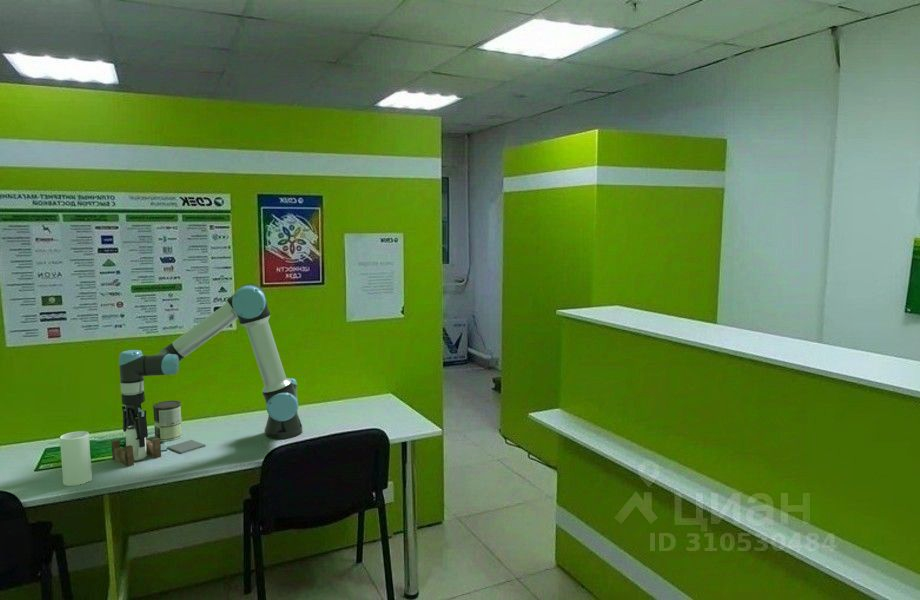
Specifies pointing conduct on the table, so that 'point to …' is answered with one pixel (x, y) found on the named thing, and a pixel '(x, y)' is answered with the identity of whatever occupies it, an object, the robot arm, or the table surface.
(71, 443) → the cup
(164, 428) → the coffee can
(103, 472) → the table surface
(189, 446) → the pad
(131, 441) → the can
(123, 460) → the brown cradle stand
